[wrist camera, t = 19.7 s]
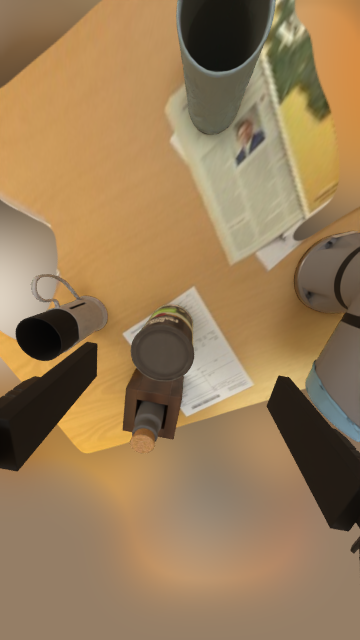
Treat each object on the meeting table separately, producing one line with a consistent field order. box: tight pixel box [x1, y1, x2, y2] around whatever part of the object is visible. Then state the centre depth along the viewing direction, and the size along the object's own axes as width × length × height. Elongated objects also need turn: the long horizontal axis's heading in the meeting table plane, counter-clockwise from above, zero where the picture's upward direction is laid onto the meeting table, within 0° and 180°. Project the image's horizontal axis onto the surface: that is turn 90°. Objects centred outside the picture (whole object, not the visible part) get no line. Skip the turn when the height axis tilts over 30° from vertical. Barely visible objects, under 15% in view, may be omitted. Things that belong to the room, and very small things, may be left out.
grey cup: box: [176, 0, 276, 134], centre depth 25 cm, size 10×10×12 cm
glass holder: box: [16, 274, 108, 361], centre depth 35 cm, size 9×14×15 cm, turn 0°
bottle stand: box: [123, 368, 183, 439], centre depth 45 cm, size 12×12×8 cm
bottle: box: [130, 401, 165, 453], centre depth 41 cm, size 6×6×15 cm
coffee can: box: [131, 304, 194, 381], centre depth 36 cm, size 10×10×14 cm
